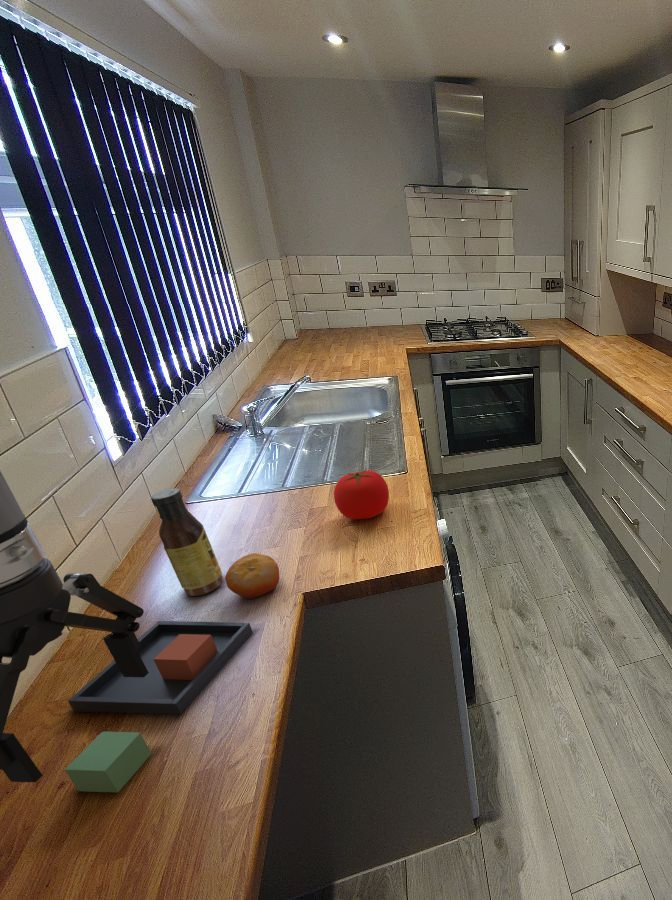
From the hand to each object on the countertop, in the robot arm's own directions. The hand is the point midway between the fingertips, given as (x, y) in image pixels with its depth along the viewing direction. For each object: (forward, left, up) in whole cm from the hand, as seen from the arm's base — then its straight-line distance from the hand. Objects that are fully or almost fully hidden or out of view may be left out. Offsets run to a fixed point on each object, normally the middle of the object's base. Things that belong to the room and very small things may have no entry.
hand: (87, 721), depth 61 cm
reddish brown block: (-3, +16, -9) cm, 18 cm away
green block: (0, 0, -9) cm, 9 cm away
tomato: (+4, +61, -9) cm, 62 cm away
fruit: (-4, +34, -9) cm, 36 cm away
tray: (-6, +16, -9) cm, 20 cm away
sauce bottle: (-15, +35, -9) cm, 39 cm away
